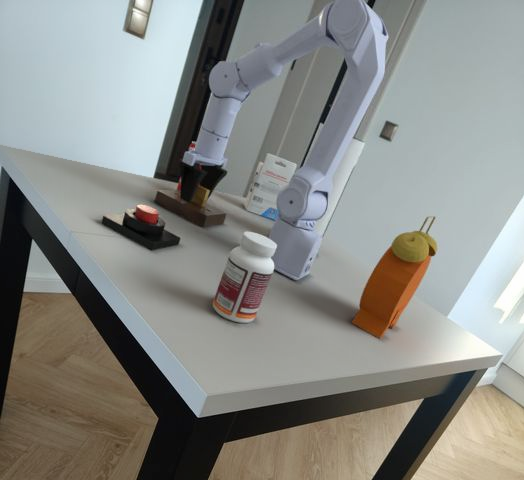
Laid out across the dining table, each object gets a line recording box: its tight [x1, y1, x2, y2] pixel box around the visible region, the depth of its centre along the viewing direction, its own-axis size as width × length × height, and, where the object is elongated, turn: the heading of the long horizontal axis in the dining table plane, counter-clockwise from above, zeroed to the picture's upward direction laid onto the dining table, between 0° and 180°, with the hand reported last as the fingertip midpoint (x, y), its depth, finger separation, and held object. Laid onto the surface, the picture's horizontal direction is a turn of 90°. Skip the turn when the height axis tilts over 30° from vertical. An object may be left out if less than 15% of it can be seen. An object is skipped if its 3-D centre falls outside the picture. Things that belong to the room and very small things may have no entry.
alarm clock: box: [351, 215, 438, 339], centre depth 84 cm, size 13×6×20 cm, turn 150°
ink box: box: [243, 152, 298, 221], centre depth 128 cm, size 8×5×15 cm, turn 99°
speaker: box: [302, 122, 366, 238], centre depth 110 cm, size 11×10×26 cm
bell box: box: [101, 208, 181, 251], centre depth 83 cm, size 10×8×3 cm
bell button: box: [134, 204, 160, 223], centre depth 82 cm, size 4×4×2 cm
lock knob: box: [191, 185, 210, 207], centre depth 104 cm, size 5×1×4 cm, turn 66°
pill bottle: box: [212, 231, 277, 324], centre depth 68 cm, size 6×6×11 cm
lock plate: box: [153, 189, 227, 228], centre depth 105 cm, size 12×9×3 cm
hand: (193, 199), depth 104 cm, fingers open, 6 cm apart
